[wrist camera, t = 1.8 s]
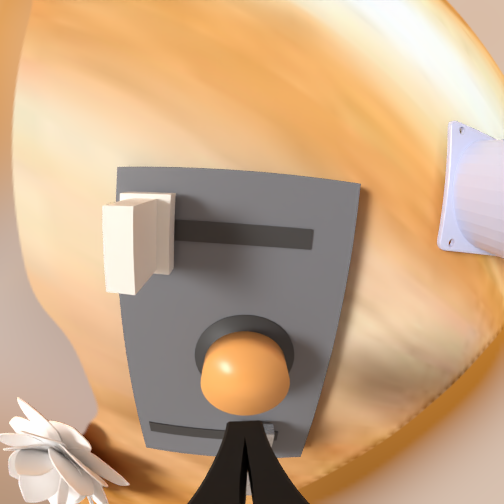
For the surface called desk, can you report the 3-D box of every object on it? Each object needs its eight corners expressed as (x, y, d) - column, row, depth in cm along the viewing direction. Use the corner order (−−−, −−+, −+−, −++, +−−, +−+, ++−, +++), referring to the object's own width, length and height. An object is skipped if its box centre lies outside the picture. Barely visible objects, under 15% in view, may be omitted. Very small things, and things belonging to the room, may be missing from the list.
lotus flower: (-1, 367, 18) (-50, 420, 9) (140, 439, 20) (115, 522, 11) (21, 444, 21) (-6, 489, 13) (129, 497, 23) (115, 552, 14)
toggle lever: (175, 193, 13) (150, 200, 9) (173, 268, 14) (150, 302, 10) (127, 191, 13) (88, 199, 9) (128, 264, 14) (93, 294, 10)
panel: (352, 183, 15) (361, 184, 14) (298, 445, 20) (300, 457, 19) (126, 167, 14) (116, 167, 13) (149, 436, 19) (146, 448, 18)
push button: (290, 333, 15) (296, 351, 13) (279, 395, 16) (283, 416, 14) (204, 328, 15) (200, 347, 13) (204, 391, 16) (201, 412, 14)
